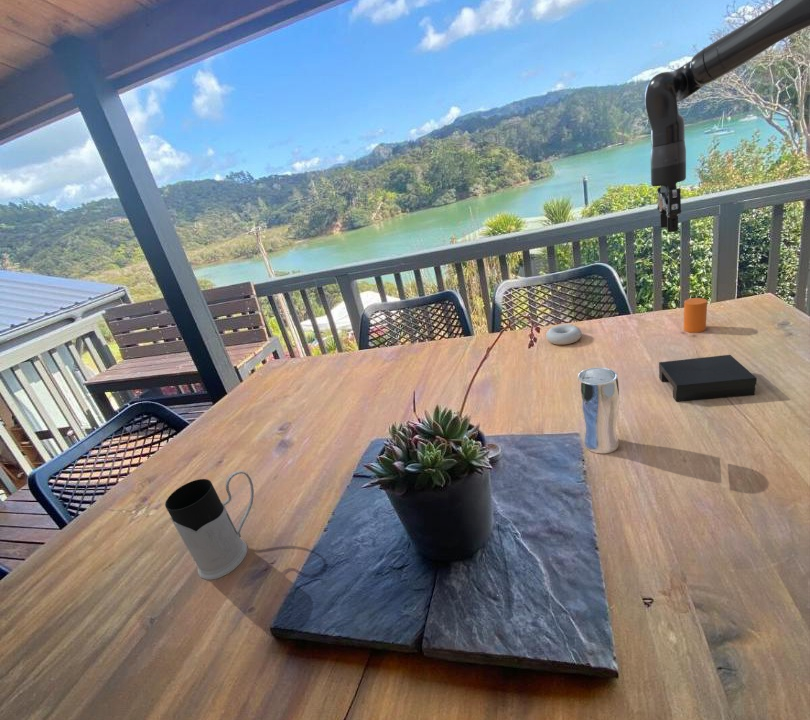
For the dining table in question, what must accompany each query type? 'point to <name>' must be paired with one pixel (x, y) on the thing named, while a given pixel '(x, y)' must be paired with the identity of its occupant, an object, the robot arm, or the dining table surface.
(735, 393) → the black display riser
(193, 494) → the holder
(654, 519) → the dining table surface
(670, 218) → the robot arm
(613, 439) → the silver metal tumbler
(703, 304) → the candle
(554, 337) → the donut
